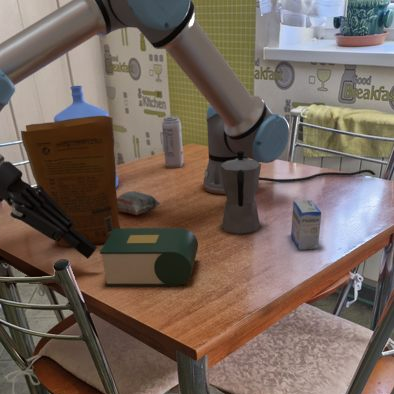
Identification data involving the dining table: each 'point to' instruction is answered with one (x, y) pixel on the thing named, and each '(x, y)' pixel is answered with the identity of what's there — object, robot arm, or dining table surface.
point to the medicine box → (305, 224)
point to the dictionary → (149, 256)
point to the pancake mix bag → (77, 171)
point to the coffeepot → (240, 194)
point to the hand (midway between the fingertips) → (92, 253)
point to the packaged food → (136, 203)
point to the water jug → (80, 110)
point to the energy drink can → (172, 141)
